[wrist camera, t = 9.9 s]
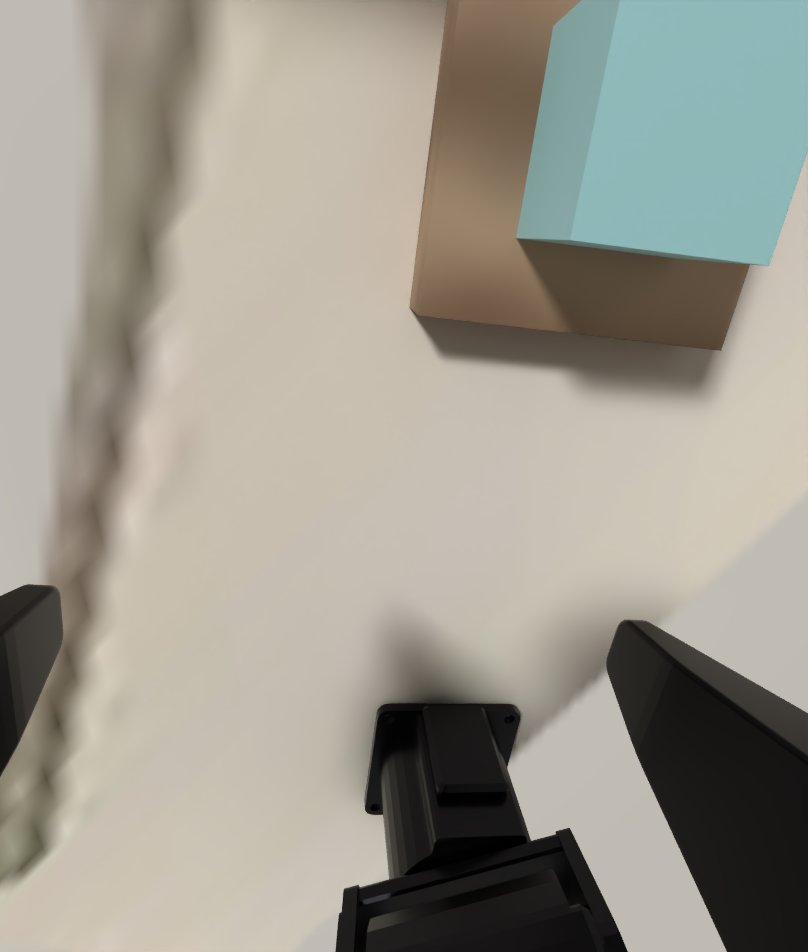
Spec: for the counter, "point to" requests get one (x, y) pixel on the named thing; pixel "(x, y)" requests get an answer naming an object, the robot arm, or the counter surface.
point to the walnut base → (501, 196)
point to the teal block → (671, 128)
